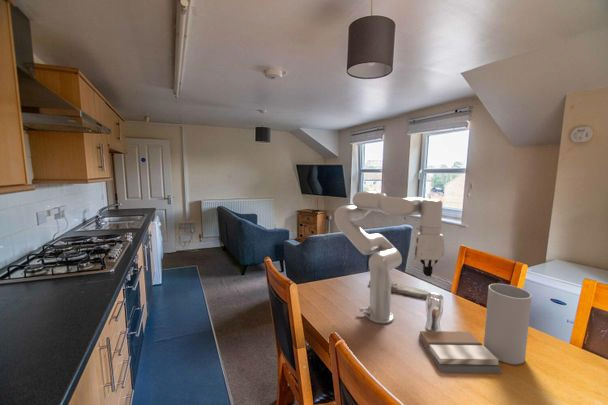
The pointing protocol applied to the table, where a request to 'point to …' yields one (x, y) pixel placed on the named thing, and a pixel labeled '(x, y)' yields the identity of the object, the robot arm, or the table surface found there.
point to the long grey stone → (408, 290)
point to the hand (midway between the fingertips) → (427, 275)
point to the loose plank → (463, 354)
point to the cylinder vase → (507, 322)
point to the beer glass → (434, 311)
